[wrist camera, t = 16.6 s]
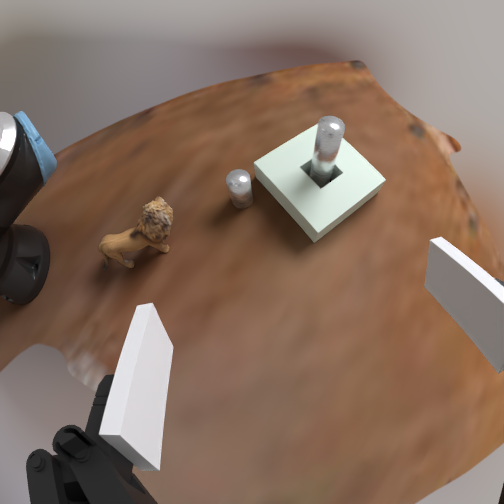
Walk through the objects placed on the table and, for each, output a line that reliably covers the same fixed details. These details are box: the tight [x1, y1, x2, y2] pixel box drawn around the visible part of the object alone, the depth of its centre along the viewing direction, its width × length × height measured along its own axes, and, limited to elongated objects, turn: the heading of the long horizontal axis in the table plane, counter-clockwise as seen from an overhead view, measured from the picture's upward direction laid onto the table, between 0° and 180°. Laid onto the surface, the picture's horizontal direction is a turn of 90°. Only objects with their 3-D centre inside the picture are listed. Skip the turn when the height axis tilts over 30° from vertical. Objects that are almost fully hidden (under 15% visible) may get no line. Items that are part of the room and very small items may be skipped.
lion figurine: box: [98, 197, 173, 270], centre depth 40 cm, size 15×5×9 cm, turn 118°
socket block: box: [254, 124, 386, 243], centre depth 44 cm, size 14×14×4 cm
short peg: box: [226, 169, 253, 209], centre depth 43 cm, size 3×3×6 cm
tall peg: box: [309, 116, 345, 189], centre depth 39 cm, size 3×3×14 cm
